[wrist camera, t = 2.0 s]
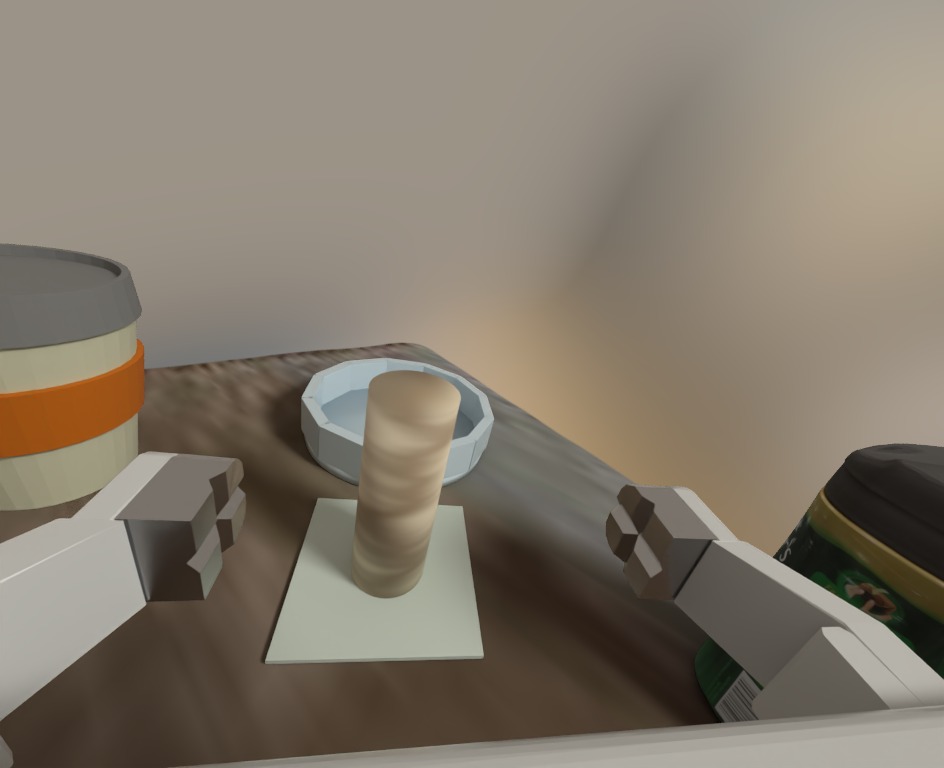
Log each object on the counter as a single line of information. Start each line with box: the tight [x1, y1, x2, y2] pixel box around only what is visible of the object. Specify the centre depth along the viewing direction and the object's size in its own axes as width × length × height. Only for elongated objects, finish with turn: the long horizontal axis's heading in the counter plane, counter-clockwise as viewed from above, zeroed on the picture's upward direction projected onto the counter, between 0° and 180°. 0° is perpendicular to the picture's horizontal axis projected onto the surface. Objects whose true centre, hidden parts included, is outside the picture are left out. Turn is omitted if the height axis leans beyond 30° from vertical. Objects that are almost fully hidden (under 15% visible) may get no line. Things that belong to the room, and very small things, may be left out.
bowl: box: [301, 358, 494, 487], centre depth 41 cm, size 19×19×4 cm
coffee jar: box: [694, 444, 944, 723], centre depth 20 cm, size 10×8×19 cm
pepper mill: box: [351, 370, 461, 599], centre depth 23 cm, size 5×5×14 cm
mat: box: [265, 498, 484, 664], centre depth 27 cm, size 12×12×1 cm
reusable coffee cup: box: [0, 244, 144, 510], centre depth 25 cm, size 12×12×15 cm
